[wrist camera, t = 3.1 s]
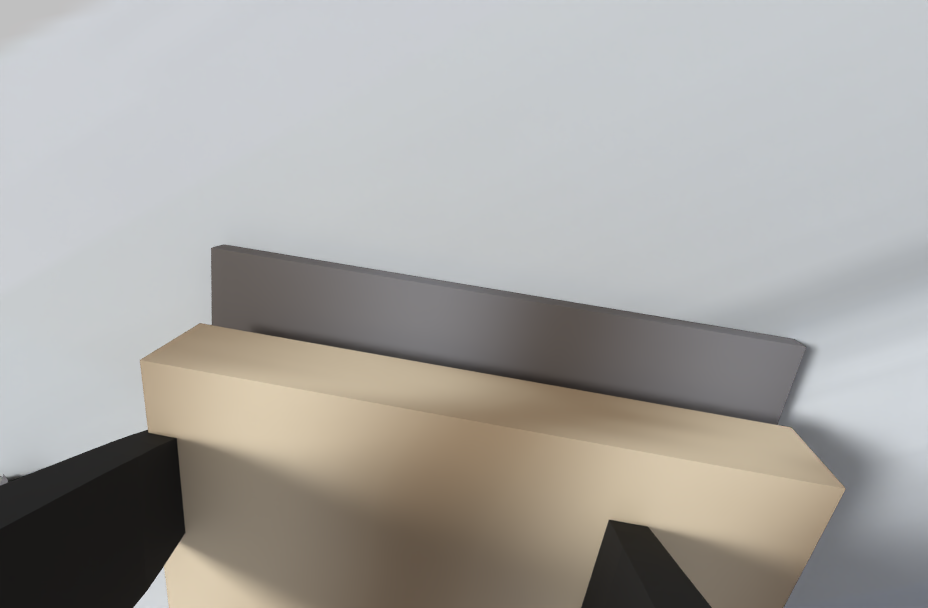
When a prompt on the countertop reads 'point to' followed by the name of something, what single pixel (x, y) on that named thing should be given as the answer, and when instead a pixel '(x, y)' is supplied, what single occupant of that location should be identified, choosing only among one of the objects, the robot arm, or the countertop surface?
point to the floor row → (505, 333)
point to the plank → (456, 483)
